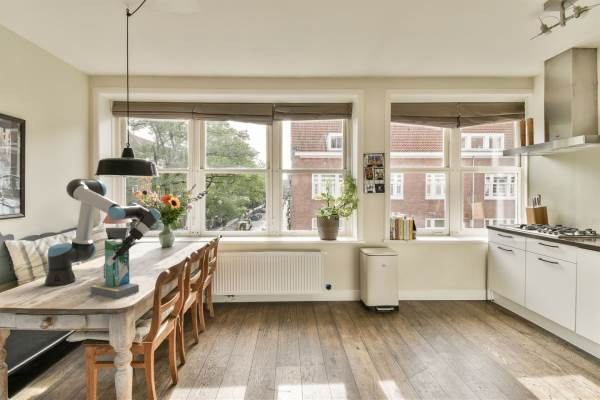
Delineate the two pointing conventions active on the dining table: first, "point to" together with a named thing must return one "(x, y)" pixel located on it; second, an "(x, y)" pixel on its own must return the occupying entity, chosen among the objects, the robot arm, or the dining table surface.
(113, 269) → the milk carton
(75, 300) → the dining table surface
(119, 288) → the plate
